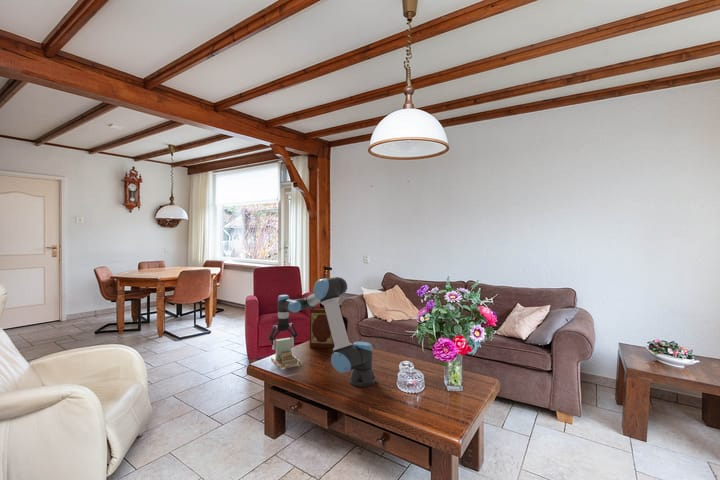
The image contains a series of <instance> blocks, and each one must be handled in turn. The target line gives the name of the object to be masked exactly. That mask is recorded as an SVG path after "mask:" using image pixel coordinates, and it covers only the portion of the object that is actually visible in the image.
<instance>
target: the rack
mask: <svg viewBox="0 0 720 480" xmlns="http://www.w3.org/2000/svg"><path fill="white" fill-rule="evenodd" d="M270 360H271V361H272V362H273V364H275V366H276V367H277V368H278V369H279V370H284V369H289V368H294V367H299V366H303V362H302V361H301V360H300V359H298V358H297V356H295V355H294V354H293V353H292V356H291V357H286V358H282V364H281V362H280V355H279V361H276V358H273V357H270Z"/></svg>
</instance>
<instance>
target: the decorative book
mask: <svg viewBox="0 0 720 480" xmlns="http://www.w3.org/2000/svg"><path fill="white" fill-rule="evenodd" d="M309 348H321V349H322V348H323V349H326V348H327V349H333V348H334V342H333V338H332V334H331V330H330V327H329V323H328V319H327V315H326V311H325V307H324V306H320V307H319V306H315V307H312V308H309Z"/></svg>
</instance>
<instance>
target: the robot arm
mask: <svg viewBox="0 0 720 480" xmlns="http://www.w3.org/2000/svg"><path fill="white" fill-rule="evenodd" d="M347 291H348V283H347V281H346V280H345V279H344V278H343V277H339V276H335V277H326V278H321V279H318V280H316V282H315V284H314V286H313V293H312V294H310V295H309V296H306V297H304V298H303V297H302V298H296V299H291V298H290V295H289V294H280V295H278V297H277V325H276V324H275V325H274V324H273V325H272V329H271V332H270V334H269V335H268V340H269V341H270V344H271V346H272V347H271V348H272V350H273V351H276V337H277V336H278V335H279V334H280V332H286V331H288V333H289V334H290V335H291V337H290V338H291V348H294V346H295V345H294V343H295V342H296V337H297V336H299V335H298V333H297V331H296V328H295V326H294V323H293V322H290V317H289V316H290V312H291V313H298V312H300V311H302V310H306V309H312V307H316V306H317V305H319V304H321V305H322V306H323V307H325V311H326V315H327V319H328V323H329V327H330V330H331V334H332V338H333V342H334V348H332V351H333V353H332V354H331V357H330V359H331V360H330V362H331V365H332V368H333V369H334V370H335V371H337V372H338V373H340V374H343V373H348V372H350V373H351V374H350V376H349V383H350V384H351V385H352V386H355V387H359V388H367V387H371V386H373V385H374V384H375V383H376V376H375V373H374V370H373V352H374V351H373V345H372V344H371V343H369V342H366V341H354V342H353V343H352V342H350V340H349V337H348V333H347V329H346V325H345V322H344V319H343V315H342V312H341V307H340V304H339V301H340V298H341V296H343V295H344V294H346V292H347ZM290 328H291V329H292V330H290Z"/></svg>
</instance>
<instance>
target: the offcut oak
mask: <svg viewBox="0 0 720 480" xmlns="http://www.w3.org/2000/svg"><path fill="white" fill-rule="evenodd" d="M292 354H293V351H292V350H291V351H290V350H289V351H284V352H280V357H281V358H286V357H291V356H292Z"/></svg>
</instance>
